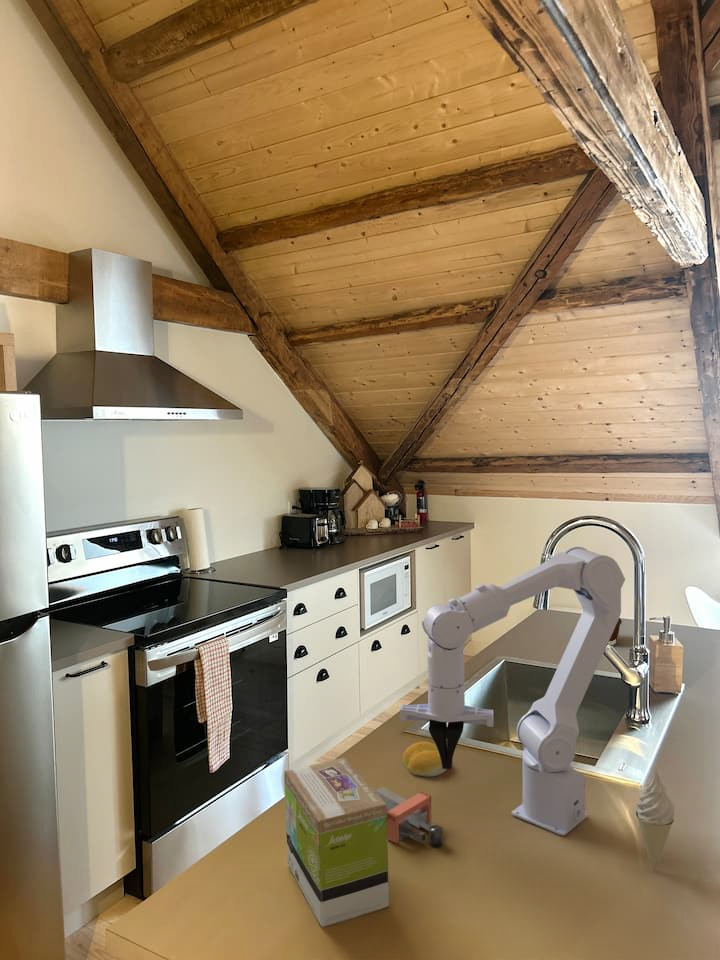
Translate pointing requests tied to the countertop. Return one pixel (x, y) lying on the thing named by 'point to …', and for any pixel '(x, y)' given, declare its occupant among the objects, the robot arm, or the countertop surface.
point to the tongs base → (421, 833)
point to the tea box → (336, 840)
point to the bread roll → (423, 759)
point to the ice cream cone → (655, 819)
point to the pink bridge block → (406, 813)
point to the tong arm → (394, 800)
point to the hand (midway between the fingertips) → (447, 766)
